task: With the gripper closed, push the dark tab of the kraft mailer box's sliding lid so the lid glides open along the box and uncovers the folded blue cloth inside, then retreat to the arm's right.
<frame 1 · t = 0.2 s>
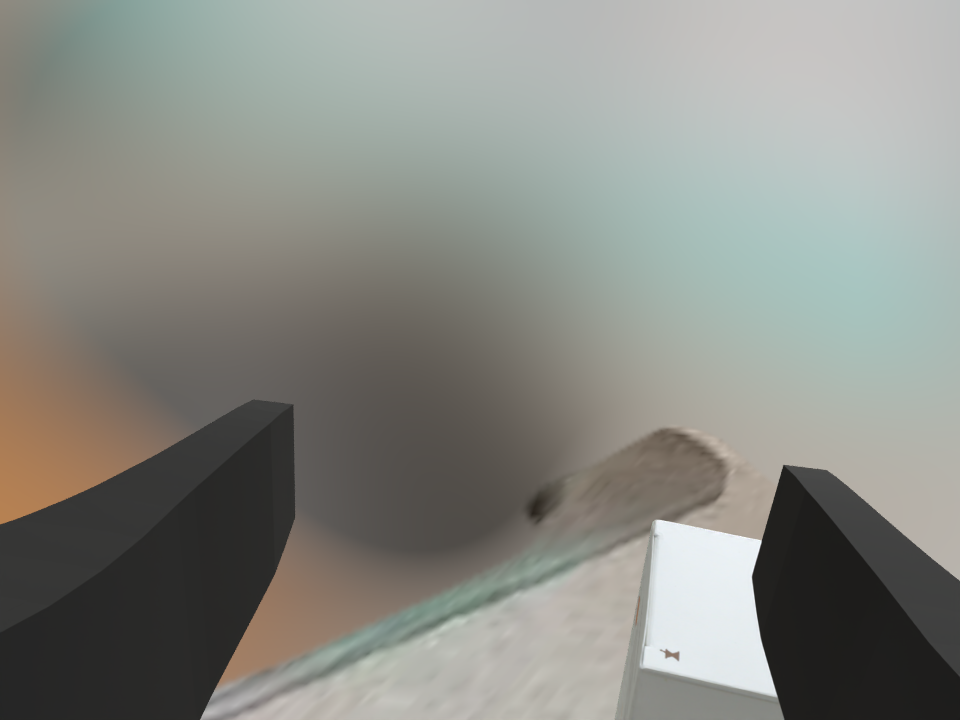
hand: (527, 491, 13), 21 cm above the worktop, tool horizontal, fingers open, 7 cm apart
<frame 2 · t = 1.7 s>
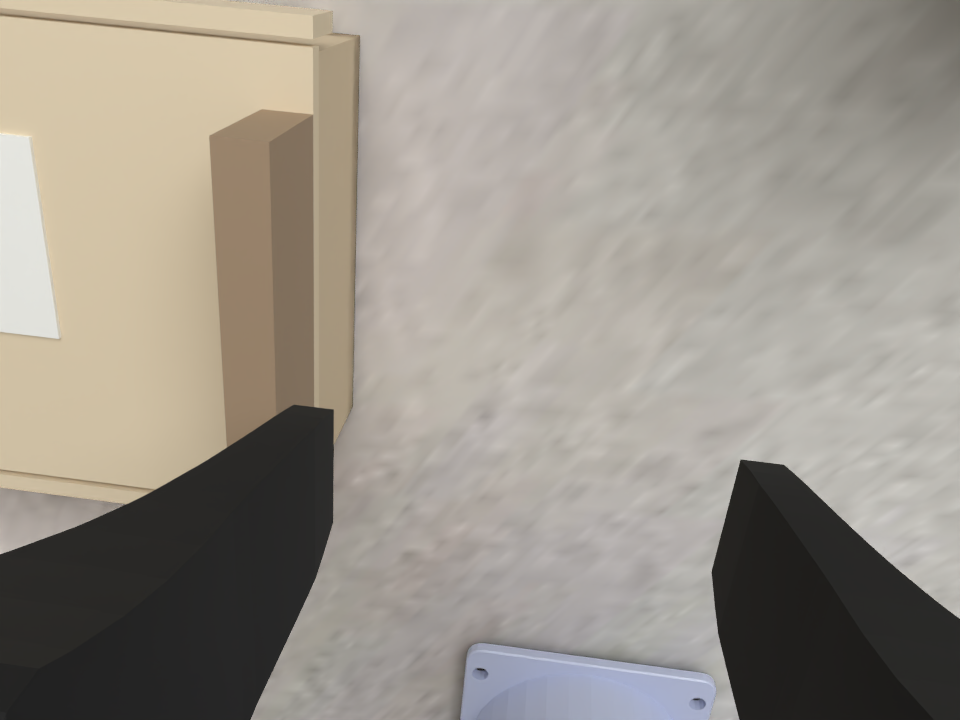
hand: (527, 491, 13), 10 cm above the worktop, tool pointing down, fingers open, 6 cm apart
mailer box: (95, 210, 22), on the worktop
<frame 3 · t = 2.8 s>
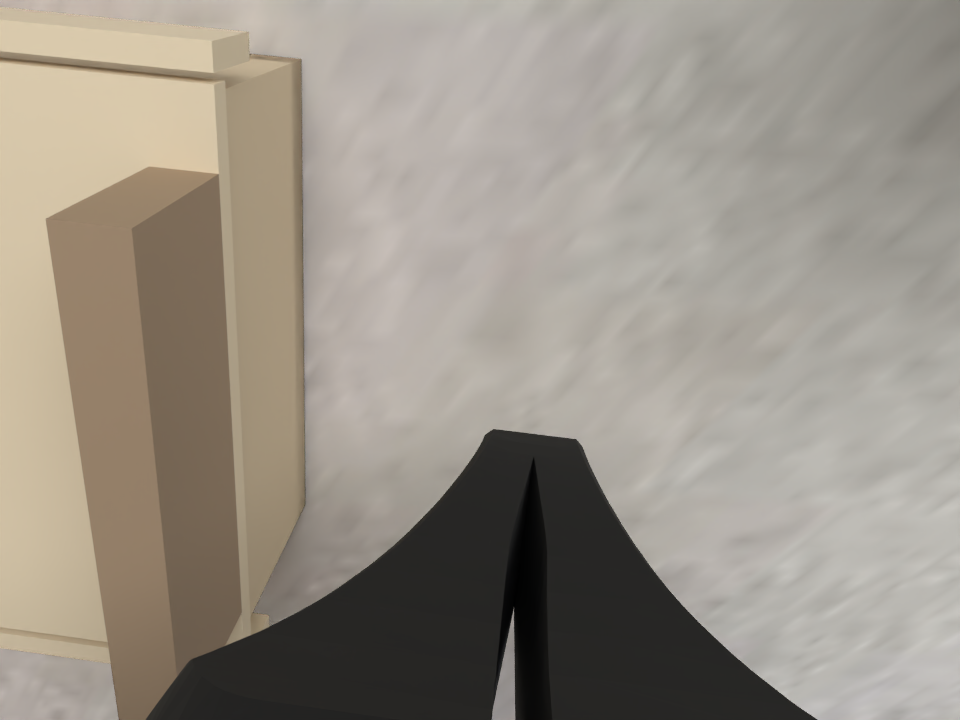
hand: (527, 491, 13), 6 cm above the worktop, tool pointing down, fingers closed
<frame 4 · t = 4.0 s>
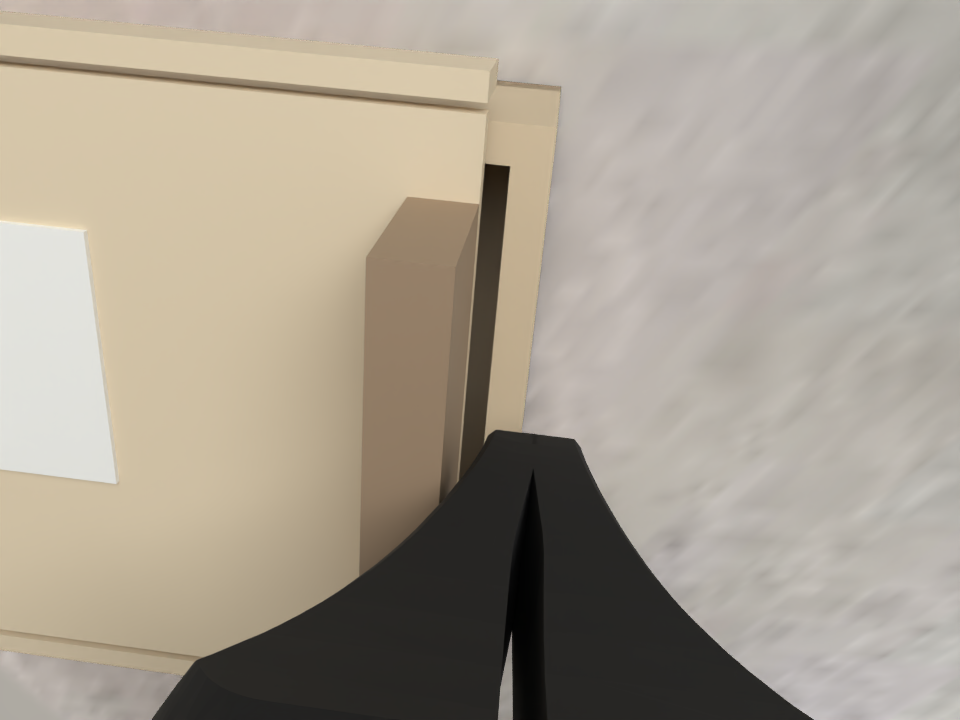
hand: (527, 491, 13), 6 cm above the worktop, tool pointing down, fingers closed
mailer box: (202, 299, 18), on the worktop
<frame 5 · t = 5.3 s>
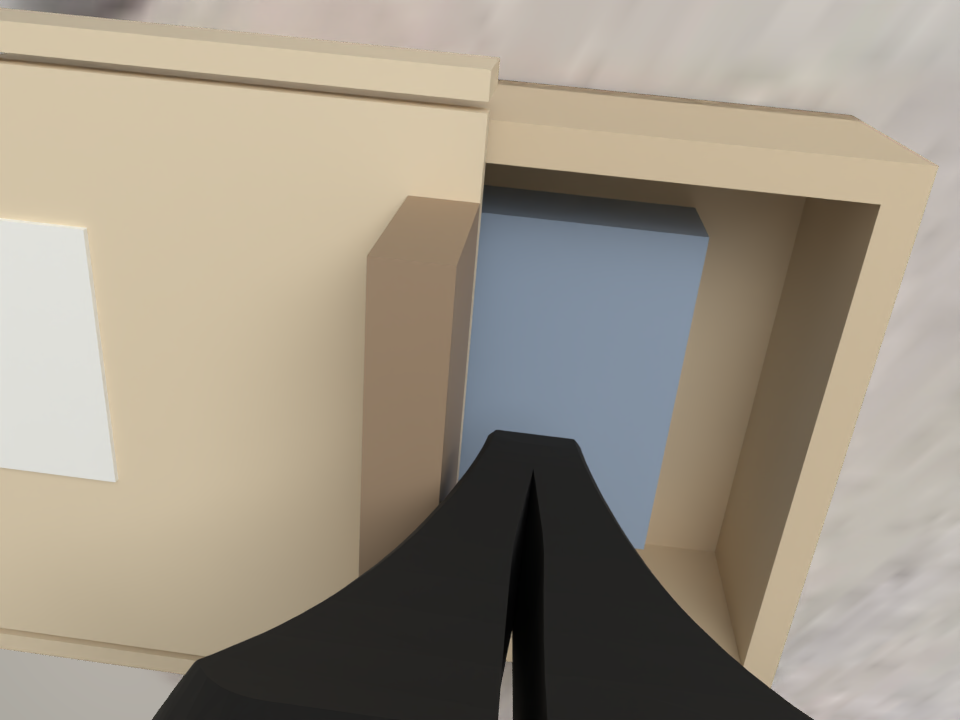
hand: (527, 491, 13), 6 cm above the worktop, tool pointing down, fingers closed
mailer box: (444, 326, 18), on the worktop
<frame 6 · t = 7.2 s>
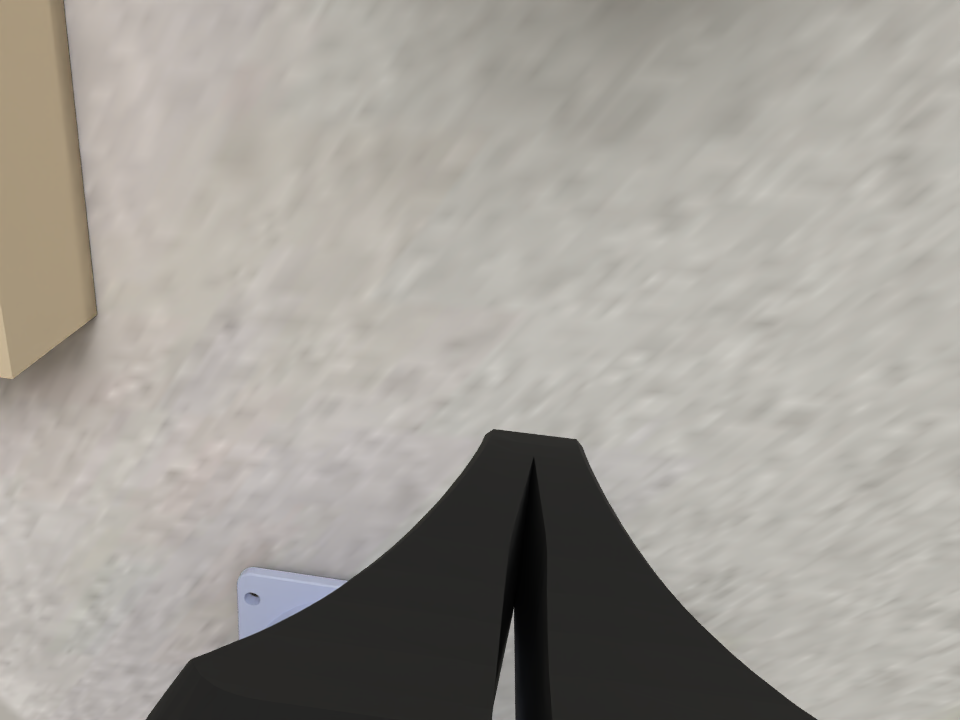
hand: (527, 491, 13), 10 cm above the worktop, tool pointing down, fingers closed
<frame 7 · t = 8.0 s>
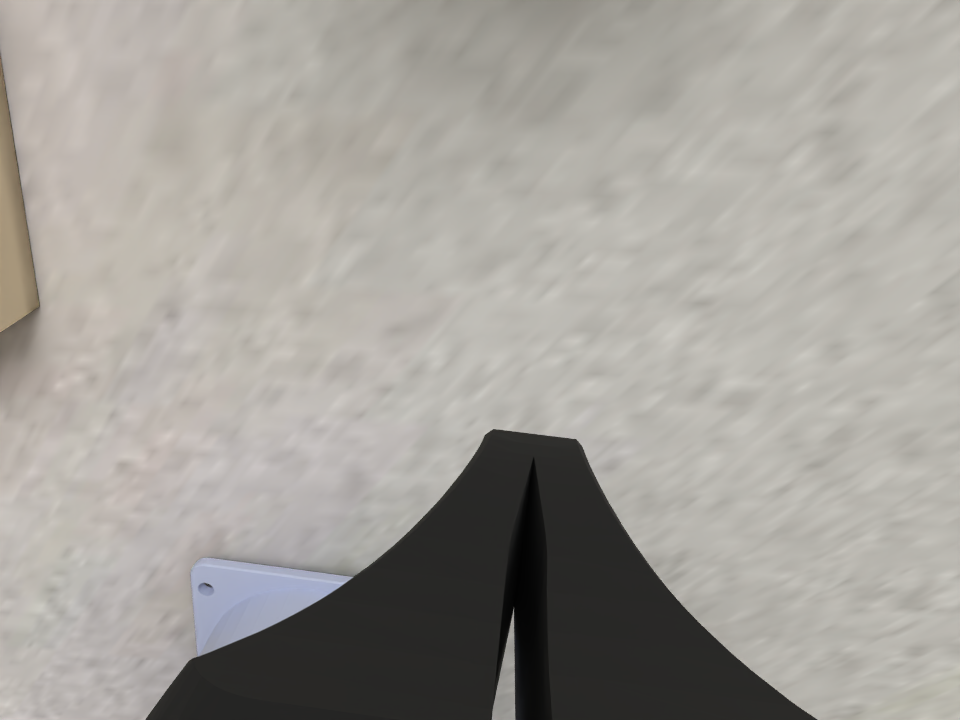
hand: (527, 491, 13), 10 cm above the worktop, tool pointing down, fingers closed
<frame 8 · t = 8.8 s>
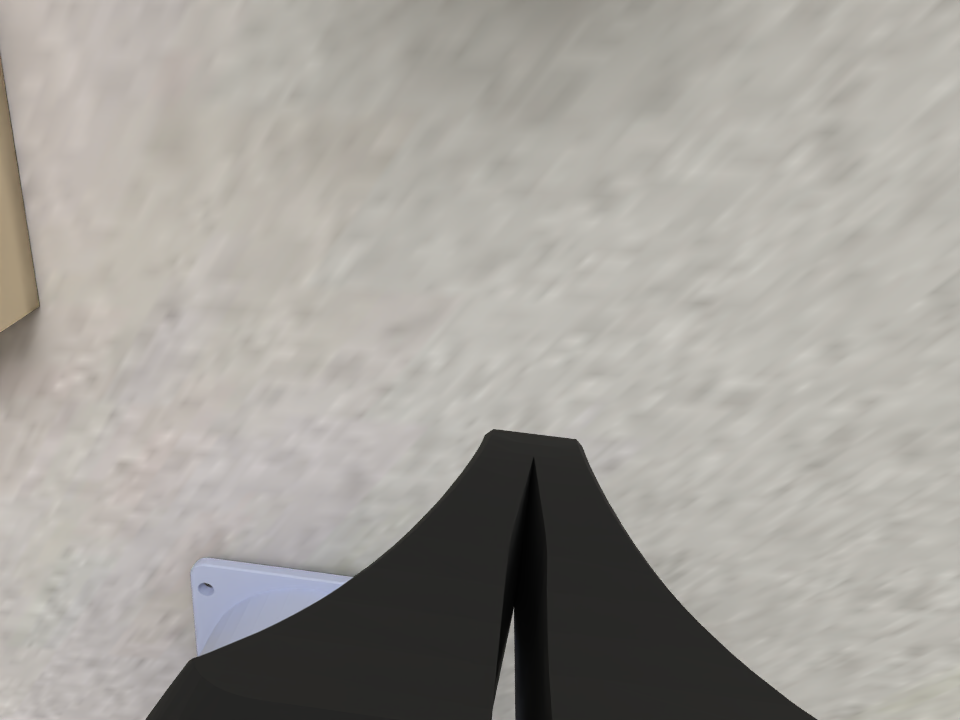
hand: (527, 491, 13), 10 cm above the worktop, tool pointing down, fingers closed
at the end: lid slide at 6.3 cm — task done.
